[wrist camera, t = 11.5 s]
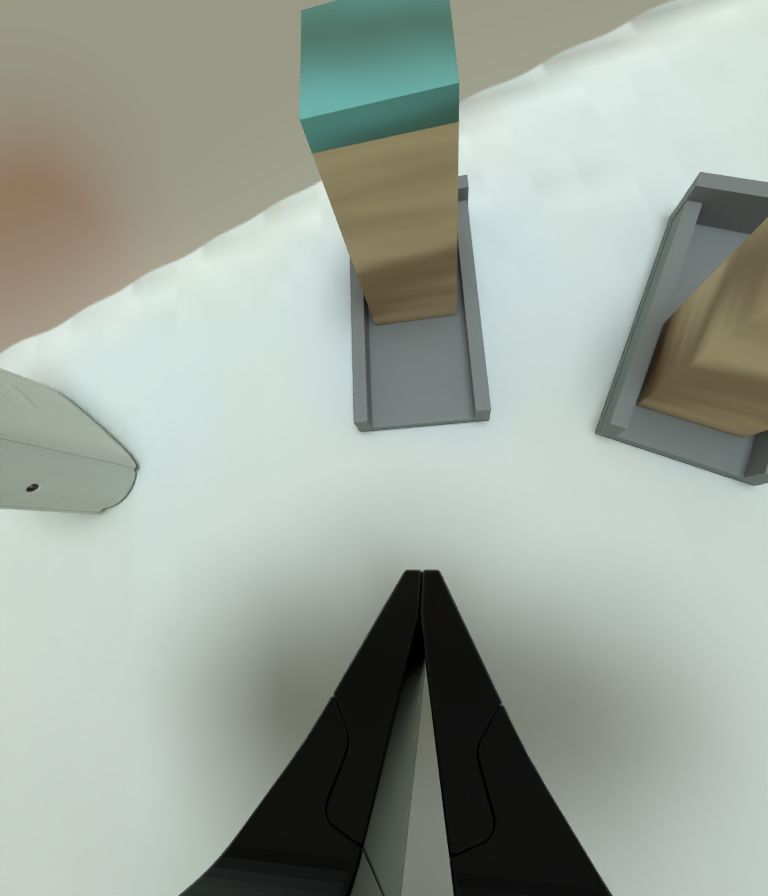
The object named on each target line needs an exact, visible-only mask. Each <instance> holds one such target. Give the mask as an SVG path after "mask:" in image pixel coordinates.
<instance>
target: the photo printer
mask: <svg viewBox="0 0 768 896" xmlns="http://www.w3.org/2000/svg"><path fill="white" fill-rule="evenodd" d="M135 468H136V464H135V462H134V461H133V459H132V458H131V457H130V455H129V454H128V453H127V452H126V451H125V450H124V449H123V448H122V447H121V446H120V445H119V444H118V443H117V442H116V441H115V440H114V439H113V438H112V437H111V436H110V435H109V434H108V433H107V432H105V431H104V430H103V429H102V428H101V427H100V426H99V425H98V424H97V423H95V422H94V421H93V420H92V419H91V418H90V417H89V416H87V415H86V414H85V413H84V412H83V411H81V410H80V409H79V408H78V407H77V406H75V405H74V404H73V403H72V402H70V401H69V400H68V399H67V398H65V397H64V396H63V395H61V394H60V393H58V392H56V391H55V390H53V389H51V388H49V387H47V386H45V385H43V384H40V383H38V382H35V381H33V380H30V379H27V378H25V377H22V376H19V375H17V374H14V373H11V372H9V371H6V370H3V369H1V368H0V509H17V510H35V511H50V512H66V513H80V514H97V513H99V512H100V511H101V510H102V509H104V508H109V507H112V506H114V505H116V504H117V503H119V502H120V501H121V500H122V499H123V498H124V497H125V496H126V495H127V493H128V492H129V490H130V489H131V487H132V485H133V482H134V480H135V475H136V473H135V470H134V469H135Z"/></svg>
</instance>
